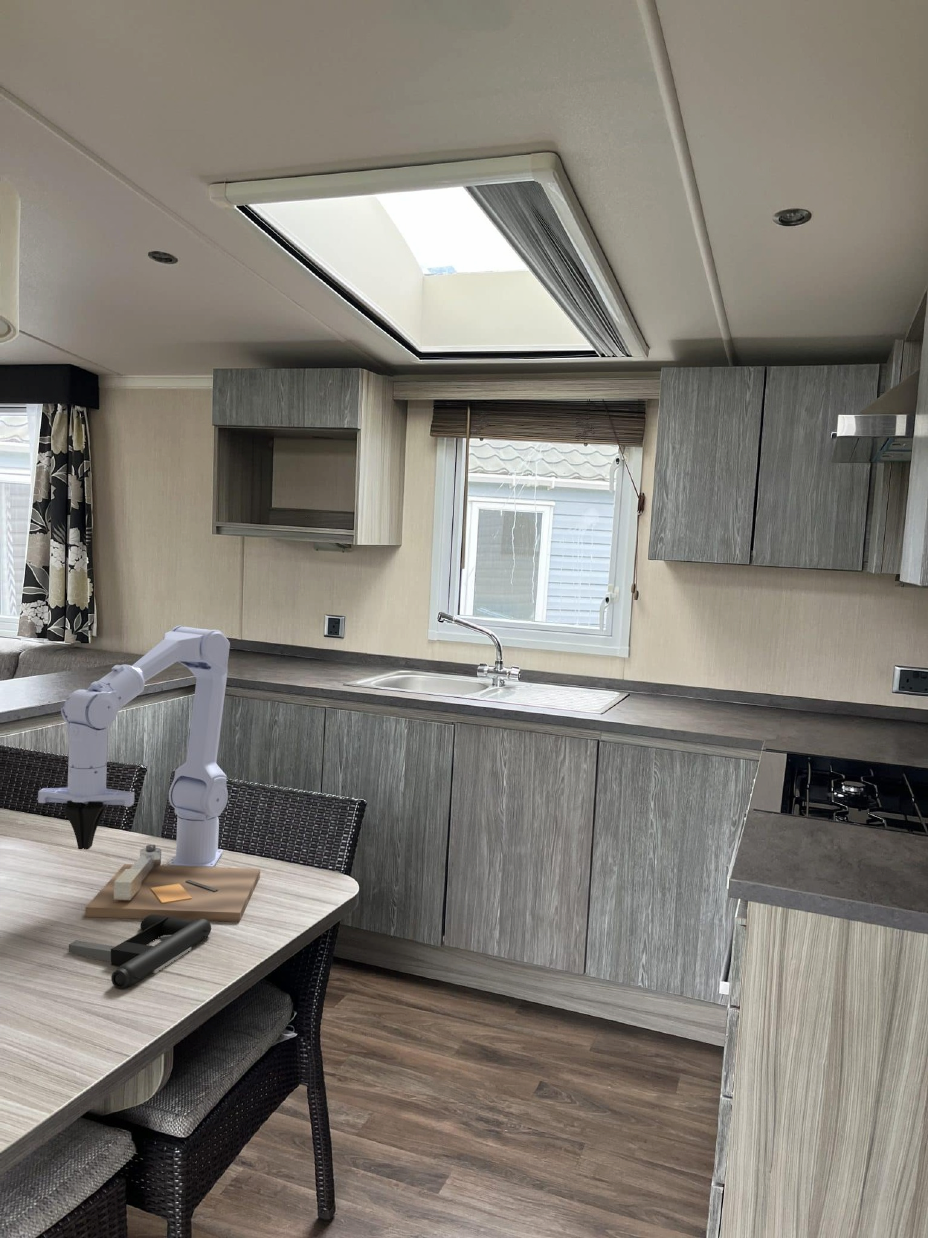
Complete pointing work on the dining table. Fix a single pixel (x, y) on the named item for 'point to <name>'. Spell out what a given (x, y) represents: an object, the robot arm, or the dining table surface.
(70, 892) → the dining table surface
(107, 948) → the door handle
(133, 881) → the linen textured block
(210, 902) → the board
